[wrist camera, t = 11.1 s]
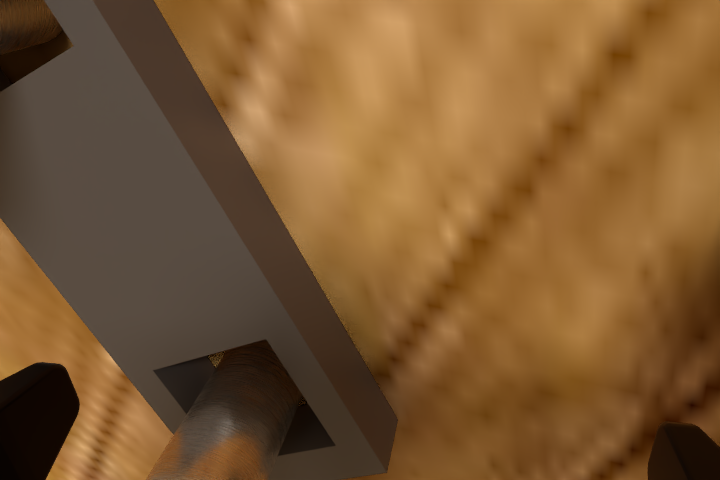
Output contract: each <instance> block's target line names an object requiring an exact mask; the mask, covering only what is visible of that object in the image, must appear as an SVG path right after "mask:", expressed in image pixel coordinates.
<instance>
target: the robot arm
mask: <svg viewBox="0 0 720 480" xmlns="http://www.w3.org/2000/svg"><path fill="white" fill-rule="evenodd" d="M79 406H80V404H79V398H78V396H77V393H76V391H75V389H74V386H73V384H72V381H71V379H70V377H69V374H68V372H67V370H66V368H65V367H64V366H63V365H60V364H55V363H44V362H40V363H35V364H32V365H30V366H28V367H27V368H25V369H23V370H21V371H19V372H17V373H15V374H13V375H11V376H9V377H7V378H5V379H3V380H1V381H0V480H46V478H47V476H48V474H49V472H50V470H51V468H52V466H53V464H54V462H55V460H56V458H57V456H58V454H59V452H60V450H61V448H62V446H63V444H64V441H65V439H66V437H67V435H68V433H69V431H70V429H71V427H72V425H73V423H74V421H75V419H76V417H77V415H78V412H79ZM648 480H720V447H719V446H718V445H717V444H716V443H715V442H714V441H713V440H712V439H711V438H710V437H708V436H707V435H706V434H705V433H704V432H703V431H702V430H701V429H700V428H699V427H697V426H696V425H693V424H689V423H678V422H668V421H666V422H662V423H661V424H660V425H659V427H658V429H657V433H656V436H655V440H654V444H653V447H652V451H651V454H650V458H649V462H648Z"/></svg>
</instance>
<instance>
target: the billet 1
mask: <svg viewBox="0 0 720 480" xmlns="http://www.w3.org/2000/svg"><path fill="white" fill-rule="evenodd" d="M62 30H63V28H62V27H61V25H60V24H59V22H58V21H57V19H56V18H55V16H54V15H53V13H52V12H51V10H50V9H49V7H48V6H47V4H46V3H45V1H44V0H0V55H2V54H6V53H9V52H13V51H16V50H20V49H24V48H27V47H31V46H34V45H38V44H42V43H45V42H48V41H51V40H53V39H54V38H56V37H57V36H58V35H59V34H60V33H61V32H62Z"/></svg>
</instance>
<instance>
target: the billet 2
mask: <svg viewBox="0 0 720 480" xmlns="http://www.w3.org/2000/svg"><path fill="white" fill-rule="evenodd" d="M301 397H302V393H301V392H300V390H299V389H298V387H297V386H296V384H295V383H294V381H293V379H292V378H291V376H290V375H289V373H288V372H287V370H286V369H285V367H284V366H283V364H282V363H281V361H280V360H279V358H278V357H277V355H276V354H275V352H274V350H273V349H272V347H271V346H270V344H269V343H268V341H267V340H266V339H264V340H261V341H257V342H254V343H250V344H246V345H243V346H239V347H236V348H232V349H228V350H227V351H226V353H225V354H224V356H223V357H222V359H221V361H220V362H219V364H218V365H217V367H216V369H215V370H214V372H213V373H212V375H211V377H210V378H209V380H208V381H207V383H206V384H205V386H204V388H203V389H202V391H201V392H200V394H199V396H198V397H197V399H196V400H195V402H194V404H193V405H192V407H191V408H190V410H189V412H188V413H187V415H186V416H185V418H184V420H183V421H182V423H181V424H180V426H179V427H178V429H177V431H176V432H175V434H174V435H173V437H172V439H171V440H170V442H169V443H168V445H167V447H166V448H165V450H164V451H163V453H162V455H161V456H160V458H159V459H158V461H157V463H156V464H155V466H154V467H153V469H152V471H151V472H150V474H149V475H148V477H147V478H146V480H268V478H269V475H270V473H271V471H272V468H273V466H274V463H275V461H276V458H277V456H278V453H279V451H280V449H281V446H282V444H283V441H284V439H285V436H286V434H287V432H288V429H289V427H290V424H291V422H292V419H293V417H294V415H295V412H296V410H297V407H298V405H299V402H300V400H301Z"/></svg>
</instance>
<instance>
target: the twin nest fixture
mask: <svg viewBox="0 0 720 480" xmlns="http://www.w3.org/2000/svg"><path fill="white" fill-rule="evenodd" d="M44 1H45V3H46V4H47V6H48V7H49V9H50V10H51V12H52V13H53V15H54V16H55V18H56V19H57V21H58V22H59V24H60V25H61V27H62V28H63V30H64V32H65V33H66V35H67V36H68V38H69V39H70V41H71V42H72V44H73V45H74V46H73V47H71V48H70V49H68V50H66V51H65V52H63V53H62V54H60V55H58V56H57V57H55V58H54V59H52V60H50V61H49V62H47V63H46V64H44V65H43V66H41V67H39V68H38V69H36V70H35V71H33V72H31V73H30V74H28V75H27V76H25V77H23V78H22V79H20V80H19V81H17V82H15V83H14V84H11V82H10V81H9V80H8V78H7V77H6V75H5V74H4V73H3V71H2V70H1V68H0V218H1V219H2V221H3V222H4V223H5V224H6V226H7V227H8V228H9V229H10V231H11V232H12V233H13V234H14V236H15V237H16V238H17V239H18V241H19V242H20V243H21V244H22V246H23V247H24V248H25V249H26V251H27V252H28V253H29V254H30V256H31V257H32V258H33V259H34V261H35V262H36V263H37V264H38V266H39V267H40V268H41V269H42V271H43V272H44V273H45V274H46V276H47V277H48V278H49V279H50V281H51V282H52V283H53V284H54V286H55V287H56V288H57V289H58V291H59V292H60V293H61V294H62V296H63V297H64V298H65V300H66V301H67V302H68V303H69V305H70V306H71V307H72V308H73V310H74V311H75V312H76V313H77V315H78V316H79V317H80V318H81V320H82V321H83V322H84V323H85V325H86V326H87V327H88V328H89V330H90V331H91V332H92V333H93V335H94V336H95V337H96V338H97V340H98V341H99V342H100V343H101V345H102V346H103V347H104V348H105V350H106V351H107V352H108V353H109V355H110V356H111V357H112V358H113V360H114V361H115V362H116V363H117V365H118V366H119V367H120V368H121V370H122V371H123V372H124V373H125V375H126V376H127V377H128V378H129V380H130V381H131V382H132V383H133V385H134V386H135V387H136V388H137V390H138V391H139V392H140V393H141V395H142V396H143V397H144V398H145V400H146V401H147V402H148V403H149V405H150V406H151V407H152V408H153V410H154V411H155V412H156V413H157V415H158V416H159V417H160V418H161V420H162V421H163V422H164V423H165V425H166V426H167V427H168V428H169V430H170V431H171V432H172V433H173V435H174V434H175V432H176V431H177V429H178V427H179V426H180V424H181V423H182V421H183V420H184V418H185V416H186V415H187V413H188V412H189V410H190V408H191V407H192V405H193V404H194V402H195V400H196V399H197V397H198V396H199V394H200V392H201V391H202V389H203V388H204V386H205V384H206V383H207V381H208V380H209V378H210V377H211V375H212V373H213V372H214V370H215V367H214V366H213V364H212V363H211V362H210V360H209V359H208V358H207V355H210V354H214V353H217V352H221V351H225V350H228V349H232V348H236V347H239V346H243V345H246V344H250V343H254V342H257V341H261V340H264V339H266V340H267V341H268V343H269V344H270V346H271V347H272V349H273V350H274V352H275V354H276V355H277V357H278V358H279V360H280V361H281V363H282V364H283V366H284V367H285V369H286V370H287V372H288V373H289V375H290V376H291V378H292V379H293V381H294V383H295V384H296V386H297V387H298V389H299V390H300V392H301V393H302V395H303V396H304V398H305V399H306V401H307V402H308V405H303V406H299V407H297V410H296V412H295V415H294V417H293V419H292V422H291V424H290V427H289V429H288V432H287V434H286V436H285V439H284V441H283V444H282V446H281V449H280V451H279V453H278V456H277V458H276V461H275V463H274V466H273V468H272V471H271V473H270V475H269V478H268V480H341V479H347V478H354V477H361V476H368V475H374V474H381V473H387V470H388V465H389V460H390V455H391V451H392V446H393V441H394V436H395V431H396V426H397V421H398V419H397V417H396V416H395V414H394V412H393V411H392V409H391V407H390V405H389V404H388V402H387V400H386V399H385V397H384V395H383V393H382V392H381V390H380V388H379V387H378V385H377V383H376V381H375V380H374V378H373V376H372V375H371V373H370V371H369V369H368V368H367V366H366V364H365V363H364V361H363V359H362V357H361V356H360V354H359V352H358V351H357V349H356V347H355V345H354V344H353V342H352V340H351V339H350V337H349V335H348V333H347V332H346V330H345V328H344V327H343V325H342V323H341V321H340V320H339V318H338V316H337V315H336V313H335V311H334V309H333V308H332V306H331V304H330V303H329V301H328V299H327V297H326V296H325V294H324V292H323V291H322V289H321V287H320V285H319V284H318V282H317V280H316V279H315V277H314V275H313V273H312V272H311V270H310V268H309V267H308V265H307V263H306V261H305V260H304V258H303V256H302V255H301V253H300V251H299V249H298V248H297V246H296V244H295V243H294V241H293V239H292V237H291V236H290V234H289V232H288V231H287V229H286V227H285V225H284V224H283V222H282V220H281V219H280V217H279V215H278V213H277V212H276V210H275V208H274V207H273V205H272V203H271V201H270V200H269V198H268V196H267V195H266V193H265V191H264V189H263V188H262V186H261V184H260V183H259V181H258V179H257V177H256V176H255V174H254V172H253V171H252V169H251V167H250V165H249V164H248V162H247V160H246V159H245V157H244V155H243V153H242V152H241V150H240V148H239V147H238V145H237V143H236V141H235V140H234V138H233V136H232V135H231V133H230V131H229V129H228V128H227V126H226V124H225V123H224V121H223V119H222V117H221V116H220V114H219V112H218V111H217V109H216V107H215V105H214V104H213V102H212V100H211V99H210V97H209V95H208V93H207V92H206V90H205V88H204V87H203V85H202V83H201V81H200V80H199V78H198V76H197V74H196V73H195V71H194V69H193V68H192V66H191V64H190V62H189V61H188V59H187V57H186V56H185V54H184V52H183V50H182V49H181V47H180V45H179V44H178V42H177V40H176V38H175V37H174V35H173V33H172V32H171V30H170V28H169V26H168V25H167V23H166V21H165V20H164V18H163V16H162V14H161V13H160V11H159V9H158V8H157V6H156V4H155V2H154V1H153V0H44Z"/></svg>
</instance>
